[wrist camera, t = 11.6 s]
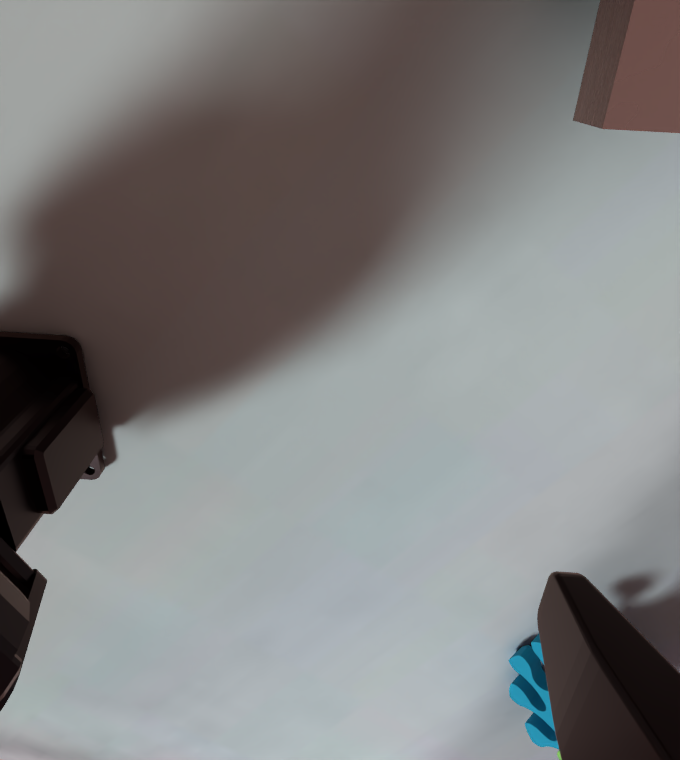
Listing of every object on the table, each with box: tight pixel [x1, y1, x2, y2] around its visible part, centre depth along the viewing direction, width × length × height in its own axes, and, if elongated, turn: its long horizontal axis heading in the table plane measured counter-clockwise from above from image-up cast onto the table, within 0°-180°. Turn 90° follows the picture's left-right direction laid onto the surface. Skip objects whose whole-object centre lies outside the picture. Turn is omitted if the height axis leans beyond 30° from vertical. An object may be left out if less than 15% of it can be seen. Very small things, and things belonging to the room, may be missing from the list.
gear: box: [509, 634, 562, 760], centre depth 27 cm, size 11×6×10 cm
